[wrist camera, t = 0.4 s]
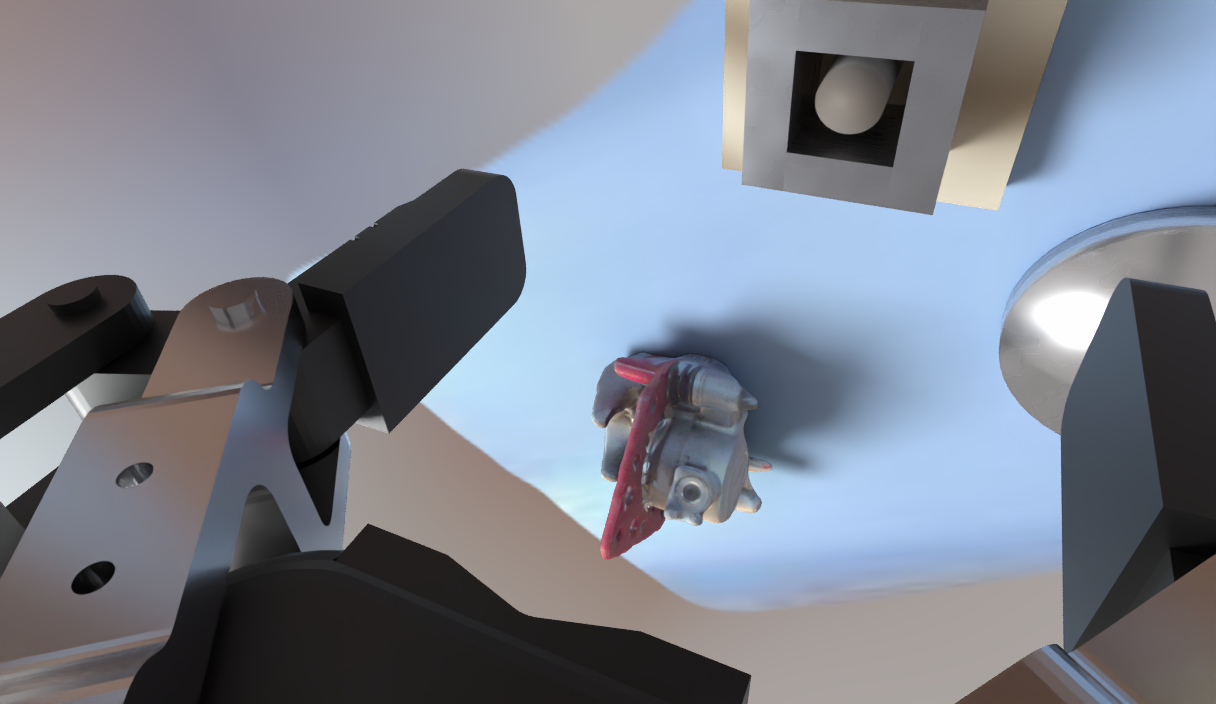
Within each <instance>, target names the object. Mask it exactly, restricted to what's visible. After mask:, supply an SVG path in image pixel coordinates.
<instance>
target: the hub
mask: <svg viewBox="0 0 1216 704" xmlns="http://www.w3.org/2000/svg"><path fill="white" fill-rule="evenodd" d="M1126 277H1127V278H1133V279H1139V280H1145V281H1151V282H1157V283H1164V284H1170V285H1176V286H1182V287H1188V288H1194V289H1201V290H1204V291H1206V292H1207V293H1208V296H1209V299H1210V302H1211V306H1212V309H1213V313H1214V316H1215V320H1216V206H1205V207H1179V208H1168V209H1159V210H1154V211H1148V212H1143V213H1137V214H1133V215H1130V216H1126V217H1122V218H1119V219H1115V220H1111V221H1109V222H1106V223H1103V224H1101V225H1098V226H1095V227H1093V228H1090V229H1088V230H1086V231H1084V232H1082V233H1079V234H1077V235H1075V236H1073V237H1071V238H1069V239H1067V240H1066V241H1064V242H1063V243H1061V244H1060V245H1058V246H1056V247H1055V248H1053V249H1052V250H1050V251H1049V252H1048V253H1046V254H1045V255H1044V256H1043V257H1042V258H1040V259H1039V260H1038V261H1037V262H1035V263H1034V264H1033V265H1032V267H1031V268H1030V269H1029V270H1028V271H1027V272H1026V273H1025V274H1024V275H1023V276H1022V278H1021V279H1020V280H1019V282H1018V283H1017V285H1016V286H1015V288H1014V289H1013V291H1012V293H1011V295H1010V297H1009V299H1008V301H1007V304H1006V308H1005V311H1004V315H1003V321H1002V328H1001V336H1000V345H999V360H1000V368H1001V371H1002V374H1003V377H1004V380H1005V382H1006V384H1007V386H1008V388H1009V390H1010V392H1011V393H1012V394H1013V396H1014V397H1015V398H1016V400H1017V401H1018V402H1019V404H1020V405H1021V406H1022V407H1023V408H1024V409H1025V410H1026V411H1027V412H1028V413H1029V414H1030V415H1031V416H1033V417H1034V418H1035V419H1037V420H1038V421H1039V422H1040V423H1042V424H1043V425H1045V426H1046V427H1048V428H1049V429H1051V430H1053V431H1054V432H1056V433H1057V434H1059V435H1061V424H1062V418H1063V413H1064V408H1065V404H1066V400H1067V397H1068V394H1069V391H1070V388H1071V385H1072V383H1073V380H1074V378H1075V376H1076V374H1077V371H1078V369H1079V367H1080V365H1081V363H1082V360H1083V358H1084V356H1085V354H1086V351H1087V349H1088V347H1089V345H1090V342H1091V340H1092V338H1093V336H1094V333H1095V331H1096V329H1097V327H1098V325H1099V322H1100V320H1101V318H1102V316H1103V313H1104V311H1105V309H1106V307H1107V304H1108V302H1109V300H1110V298H1111V296H1112V294H1113V292H1114V290H1115V288H1116V287H1117V285H1118V284H1119V282H1120V281H1121V280H1122V279H1123V278H1126Z"/></svg>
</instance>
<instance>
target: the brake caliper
mask: <svg viewBox="0 0 1216 704" xmlns="http://www.w3.org/2000/svg"><path fill="white" fill-rule="evenodd" d="M758 407H759V402H758V401H757V399H756V398H755V397H754V396H753V395H752V394H751V393H750V392H749V391H748V390H746V389H745V388H744V387H743V386H742V385H741V384H740V383H739V382H738V381H737V380H736V379H735V378H734V377H733V376H732V375H731V374H730V373H729V371H728V369H727V367H726V366H725V364H723V363H722V362H720V361H718V360H716V359H714V358H711V357H708V356H703V355H697V354H686V355H683V356H680V357H677V358H670V357H665V356H656V355H651V354H649V353H645V352H640V353H638V354H636V355H633V356H629V357H627V358H624V357H621V358H618V359H617V360H615V361H614V362H612V363H611V364H609V365H608V366H607V367H606V368H605V369H604V371H603V372H602V375H601V377H600V380H599V382H598V384H597V394H596V397H595V401H594V406H593V412H592V420H593V422H594V423H595V424H596V425H597V426H598V427H600V428H606V432H605V445H604V456H603V460H602V468H601V474H602V477H603V478H604V479H606V480H607V481H610V482H616V481H617V484H616V487H615V490H614V494H613V498H612V502H611V506H610V510H609V514H608V517H607V521H606V524H605V528H604V532H603V535H602V539H601V545H600V548H601V554H602V557H603V558H604V559H605V560H609V559H613V558H615V557H618V556H619V555H621V554H622V553H625V552H626V551H628V550H629V549H630V548H631V547H632V546H633V545H636V544H638V543H640V542H641V541H642V540H645V539H646V538H648V537H649V536H650V535H652V534H653V533H654V532H655V531H658V530H659V529H660V528H661V526H662V525H663V523H664V521H665V518H666V519H670V520H680V521H684V522H688V523H690V524H693V525H696V526H697V525H701V524H702V520H706V521H709V522H713V523H722V522H725V521H726V520H727V519H729V517H730V516H731V514H732V513H733V511H734V510H738V511H743V512H748V513H755V512H757V511H758V510H759V509H760V507H761V504H762V502H761V499H760V498H759V496H758V495H757V494H756V492H755V491H754V489H753V487H752V485H751V483H750V480H749V476H748V471H751V472H762V471H770V470H771V469H772V466H771V465H770V464H769V463H768V462H766V461H763V460H759V459H755V458H751V457H748V447H747V443H746V439H745V435H744V423H745V421H746V419H747V416H748V412H747V411H750V410H756V409H757V408H758ZM648 506H649V508H648Z"/></svg>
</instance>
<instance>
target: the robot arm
mask: <svg viewBox="0 0 1216 704" xmlns="http://www.w3.org/2000/svg"><path fill="white" fill-rule="evenodd" d="M525 278H526V261H525V254H524V247H523V240H522V233H521V226H520V219H519V212H518V205H517V197H516V192H515V188H514V185H513V183H512V181H511V180H510V179H509V178H508V177H507V176H504V175H499V174H493V173H487V172H480V171H474V170H468V169H459V170H457V171H455V172H453V173H452V174H450V175H449V176H448V177H446V178H445V179H443V180H442V181H441V182H439V183H438V184H436V185H435V186H434V187H432V188H431V189H429V190H428V191H426V192H425V193H424V194H422V195H421V196H419V197H418V198H416V199H415V200H413V201H411V202H408V203H406V204H403V205H401V206H398V207H396V208H395V209H393V210H392V211H391V212H389V213H388V214H386V215H385V216H384V217H382V218H380V219H379V220H378V221H376V222H375V223H374V227H370V226H369V227H368V228H366V229H365V230H363V231H362V232H360V233H359V234H358V235H356V236H355V240H349V241H348V242H346V243H345V244H343V245H342V246H340V247H339V248H338V249H336V250H335V251H333V252H332V253H330V254H329V255H328V256H326V257H325V258H323V259H322V260H320V261H319V262H318V263H316V264H315V265H313V266H312V267H310V268H309V269H308V270H306V271H305V272H303V273H302V274H300V275H299V276H298V277H296V278H295V279H293V280H292V281H290V282H289V283H288V284H287V283H285V282H284V281H281V280H279V279H275V278H268V277H254V278H253V277H252V278H244V279H239V280H234V281H231V282H227V283H224V284H221V285H218V286H216V287H213V288H211V289H209V290H207V291H205V292H203V293H201V294H199V295H198V296H197V297H195V298H194V299H192V300H191V301H190V302H189V303H187V304H186V305H185V306H184V308H183V309H182V310H181V311H152V310H149V308H148V306H147V304H146V302H145V300H144V299H143V296H142V295H141V293H140V291H139V289H138V287H137V285H136V283H135V282H134V281H133V280H131V279H130V278H127V277H124V276H119V275H102V276H94V277H88V278H84V279H80V280H76V281H73V282H70V283H66V284H64V285H61V286H59V287H56V288H54V289H52V290H50V291H48V292H46V293H44V294H42V295H40V296H38V297H37V298H35V299H33V300H31V301H30V302H28V303H26V304H25V305H23V306H21V307H19V308H18V309H16V310H14V311H12V312H11V313H9V314H7V315H6V316H4V317H2V318H0V439H1V438H2V437H4V436H5V435H7V434H8V433H10V432H11V431H13V430H14V429H15V428H17V427H18V426H20V425H21V424H23V423H24V422H25V421H27V420H28V419H30V418H31V417H33V416H34V415H35V414H37V413H38V412H40V411H41V410H43V409H44V408H46V407H47V406H48V405H50V404H51V403H53V402H54V401H55V400H57V399H58V398H60V397H61V396H63V395H64V394H65V395H66V397H67V398H68V400H69V401H70V403H71V404H72V406H73V407H74V409H75V410H76V412H77V413H78V414H79V416H80V417H81V419H82V420H83V421H82V423H81V425H80V427H79V429H78V431H77V433H76V434H75V436H74V439H73V440H72V442H71V444H70V446H69V448H68V450H67V452H66V454H65V456H64V458H63V459H62V461H61V463H60V465H59V466H58V467H57V468H56V469H54V470H53V471H52V472H50V473H49V474H48V475H47V476H45V477H44V478H43V479H41V480H40V481H39V482H38V483H36V484H35V485H34V486H32V487H31V488H30V489H28V490H27V491H26V492H25V493H23V494H22V495H21V496H20V497H18V498H17V499H15V500H14V501H13V502H12V503H10V504H9V505H8V506H6V507H5V506H4V505H3V504H2V503H1V502H0V704H747V703H748V696H749V687H750V681H751V675H749V674H747V673H745V672H742V671H739V670H737V669H734V668H732V667H729V666H727V665H724V664H722V663H719V662H717V661H714V660H712V659H709V658H706V657H704V656H702V655H699V654H696V653H694V652H691V651H689V650H686V649H684V648H681V647H679V646H676V645H674V644H671V643H669V642H666V641H664V640H661V639H659V638H656V637H653V636H651V635H648V634H646V633H643V632H641V631H633V630H626V629H618V628H611V627H604V626H596V625H588V624H581V623H574V622H566V621H559V620H552V619H544V618H537V617H532V616H528V615H525V614H523V613H521V612H519V611H518V610H516V609H515V608H513V607H512V606H511V605H510V604H508V603H507V602H506V601H505V600H503V599H502V598H501V597H500V596H498V595H497V594H496V593H494V592H493V591H492V590H491V589H490V588H488V587H487V586H486V585H484V584H483V583H482V582H481V581H480V580H478V579H477V578H476V577H474V576H473V575H472V574H471V573H469V572H468V571H467V570H466V569H464V568H463V567H462V566H461V565H459V564H458V563H457V562H456V561H454V560H453V559H452V558H450V557H449V556H448V555H446V554H443V553H441V552H438V551H436V550H433V549H431V548H428V547H426V546H423V545H421V544H418V543H416V542H413V541H411V540H408V539H405V538H403V537H401V536H398V535H396V534H393V533H391V532H388V531H385V530H383V529H380V528H378V527H375V526H373V525H370V524H367V525H366V526H365V527H364V529H363V530H362V531H361V532H360V533H359V534H358V535H357V536H356V538H355V539H354V540H353V541H352V542H351V543H350V545H349V546H348V547H347V548H346V549H345V550H343V535H344V524H345V513H346V502H347V501H346V500H347V491H348V479H349V469H350V458H351V444H350V441H349V438H348V436H347V433H346V431H347V430H348V429H349V428H350V427H351V426H352V425H353V424H354V423H358V424H361V425H364V426H367V427H370V428H373V429H376V430H379V431H382V432H385V433H388V434H389V433H390V432H391V431H392V430H393V429H394V428H395V427H396V426H397V425H398V424H399V423H400V422H401V421H402V420H403V418H405V417H406V415H407V414H408V413H409V412H410V411H411V410H412V409H413V408H414V407H415V406H416V405H417V404H418V403H419V402H420V401H421V400H422V399H423V398H424V397H425V396H426V395H427V394H428V393H429V392H430V391H431V390H432V389H433V388H434V387H435V386H436V385H437V384H438V382H439V381H440V380H441V379H442V378H443V377H444V376H445V375H446V374H447V373H448V372H449V371H450V370H451V369H452V368H453V367H454V366H455V365H456V364H457V363H458V362H459V361H460V360H461V359H462V358H463V357H464V356H465V355H466V354H467V353H468V351H469V350H470V349H471V348H472V347H473V346H474V345H475V344H476V343H477V342H478V341H479V340H480V339H481V338H482V337H483V336H484V335H485V334H486V333H487V332H488V331H489V330H490V329H491V328H492V327H493V326H494V325H495V324H496V323H497V322H498V321H499V319H500V318H501V317H502V316H503V315H504V314H505V313H506V312H507V311H508V310H509V309H510V308H511V307H512V306H513V305H514V304H515V303H516V302H517V300H518V298H519V297H520V295H521V292H522V290H523V287H524V283H525ZM1061 486H1062V560H1063V634H1064V650H1063V649H1062V648H1061V647H1060V646H1059V645H1057V644H1052V645H1047V646H1045V647H1042V648H1040V649H1038V650H1036V651H1034V652H1032V653H1030V654H1029V655H1027V656H1026V657H1024V658H1023V659H1021V660H1020V661H1018V662H1016V663H1015V664H1013V665H1012V666H1011V667H1009V668H1007V669H1006V670H1004V671H1003V672H1001V673H1000V674H998V675H997V676H995V677H994V678H992V679H991V680H989V681H988V682H986V683H985V684H984V685H982V686H981V687H979V688H978V689H976V690H974V691H973V692H971V693H970V694H969V695H967V696H965V697H964V698H963V699H961V700H960V701H958V702H957V703H955V704H1216V320H1215V316H1214V313H1213V309H1212V306H1211V302H1210V299H1209V296H1208V293H1207V292H1206V291H1204V290H1201V289H1194V288H1188V287H1182V286H1176V285H1170V284H1164V283H1157V282H1151V281H1145V280H1139V279H1133V278H1127V277H1126V278H1123V279H1122V280H1121V281H1120V282H1119V284H1118V285H1117V287H1116V288H1115V290H1114V292H1113V294H1112V296H1111V298H1110V300H1109V302H1108V304H1107V307H1106V309H1105V311H1104V313H1103V316H1102V318H1101V320H1100V322H1099V325H1098V327H1097V329H1096V331H1095V333H1094V336H1093V338H1092V340H1091V342H1090V345H1089V347H1088V349H1087V351H1086V354H1085V356H1084V358H1083V360H1082V363H1081V365H1080V367H1079V369H1078V371H1077V374H1076V376H1075V378H1074V380H1073V383H1072V385H1071V388H1070V391H1069V394H1068V397H1067V400H1066V404H1065V408H1064V413H1063V418H1062V424H1061Z"/></svg>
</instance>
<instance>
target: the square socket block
mask: <svg viewBox="0 0 1216 704" xmlns="http://www.w3.org/2000/svg"><path fill="white" fill-rule="evenodd" d="M988 3H989V0H750V5H749V28H748V52H747V75H746V98H745V121H744V144H743V167H742V185H749V186H755V187H761V188H767V189H773V190H780V191H786V192H792V193H798V194H805V195H811V196H817V197H823V198H829V199H836V200H842V201H848V202H854V203H861V204H867V205H873V206H879V207H885V208H892V209H898V210H904V211H910V212H917V213H923V214H929V215H933V212H934V208H935V204H936V200H937V197H938V193H939V189H940V186H941V182H942V178H943V174H944V171H945V167H946V163H947V159H948V156H949V152H950V148H951V144H952V140H953V137H954V133H955V129H956V125H957V121H958V118H959V114H960V110H961V106H962V102H963V98H964V95H965V91H966V87H967V83H968V79H969V75H970V72H971V68H972V64H973V60H974V56H975V52H976V49H977V45H978V41H979V37H980V33H981V29H982V26H983V22H984V18H985V14H986V10H987V6H988ZM823 53H829V54H840V55H851V56H862V57H873V58H884V59H895V60H906V61H915V63H914V67H913V72H912V77H911V82H910V87H909V92H908V97H907V102H906V106H904V105H895V104H886V106H885V108H884V111H883V113H882V116H881V117H880V119H879V120H878V121H877V123H876V124H875V125H874V126H872V127H871V128H869V129H868V130H866V131H864V132H861V133H857V134H842V133H838V132H836V131H833V130H831V129H830V128H828V127H827V126H826V125H825V124H824V123H823V122H822V121H821V120H820V118H819V116H818V114H817V111H816V107H815V98H816V93H817V90H818V88H819V80H820V71H821V63H822V54H823Z"/></svg>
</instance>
